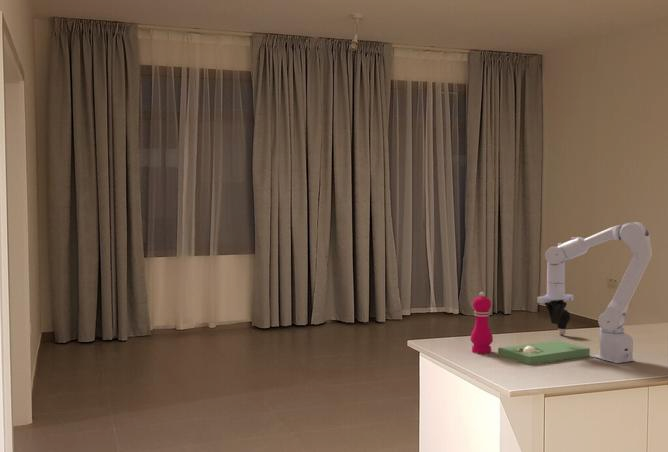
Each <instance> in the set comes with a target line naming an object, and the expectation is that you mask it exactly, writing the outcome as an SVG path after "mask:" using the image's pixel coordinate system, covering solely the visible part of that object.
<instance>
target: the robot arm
mask: <svg viewBox="0 0 668 452" xmlns="http://www.w3.org/2000/svg"><path fill="white" fill-rule="evenodd" d="M610 240H614V241H620V240H622V242H624V244H626V245H627V246H628V247H629V250H630V251H631V253H632V257H631V259H630V262H629V264H628V266H627V268H626V271H625V272H624V275H623V276H622V279H621V280H620V283H619V284H618V287H617V289H616V291H615V293H614V295H613V297H612V299H611V301H610V302H609V304H608V305H607V307H606V308H605V310H604V311H603V312H601V314H600V315H599V316H598V318H597V319H598V321H597V322H598V323H597V324H598V326H599V327H600V328H599V347H598V348H599V349H598V350H599V352H598V353H599V354H596V355H593V356H592V358H596V359H598V360H604V361H607V362H610V363H614V364H621V363H627V362H633V361H635V358H634V357H633V354H634V353H633V352H634V348H633V347H634V342H633V337H632V336H631V335H630V334H627V333H626V332H625V329H624V327H623V326H624V324H625V323H626V318H627V317H626V316H627V315H626V314H627V312H628V308H629V304H630V302H631V300H632V298H633V296H634V293H635V292H636V290H637V287H638V286H639V284H640V281H641V280H642V277H643V275H644V273H645V271H646V269H647V267H648V265H649V262H650V261H651V259H652V257H653V250H652V248H653V247H652V243H651V232H649V230H648V228H647V227H646V225H645V224H644V223H642V222H640V221H632V222H627V223H624V224H620V225H619V224H618V225H615V226H611V227H609V228H606V229H605V230H602V231H599V232H597V233H594V234H592V235H591V236H588V237H586V238H584V237H582V236H573V237H570V240H567V241H565V242H563V243H562V242H559V243H557V246H550V247H549V248H548V249H546V251H545V252H544V259H545V261H546V268H547V269H546V294H544V295H542V296H537V298H536V302H537V304H544V305H545V307H546V309H547V310H548V315H549V317H550V321H551V324H554V325H557V324H559V322H560V318H561V315H562V312H563V310H564V309H565V308H566V306H567V301H574V294H569V293H567V294H566V261H569V260H571V259H575V258H577V257H580V256H582V255H584V254H585V255H586V254H587V252H588V250H589V248H592V247H594V246H596V245H597V246H598V245H600V244H603V243H605V242H608V241H610Z"/></svg>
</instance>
